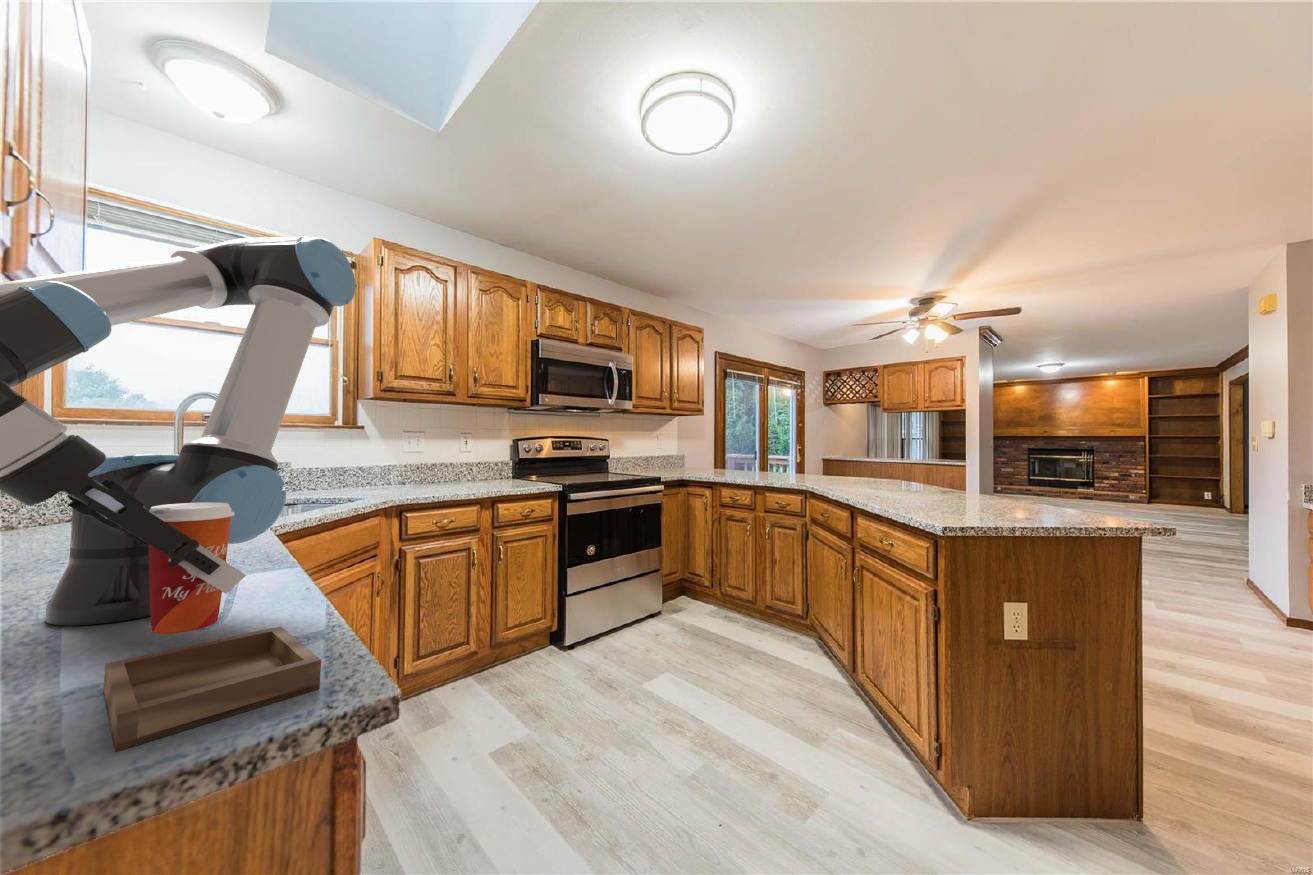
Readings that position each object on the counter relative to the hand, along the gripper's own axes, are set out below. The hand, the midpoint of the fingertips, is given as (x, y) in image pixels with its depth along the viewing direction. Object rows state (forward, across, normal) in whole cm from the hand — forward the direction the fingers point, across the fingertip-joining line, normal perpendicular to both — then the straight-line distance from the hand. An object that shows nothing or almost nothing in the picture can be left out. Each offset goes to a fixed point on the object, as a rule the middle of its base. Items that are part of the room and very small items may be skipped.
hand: (223, 577), depth 63 cm
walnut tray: (+2, +17, -9) cm, 19 cm away
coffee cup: (+1, 0, -6) cm, 6 cm away
